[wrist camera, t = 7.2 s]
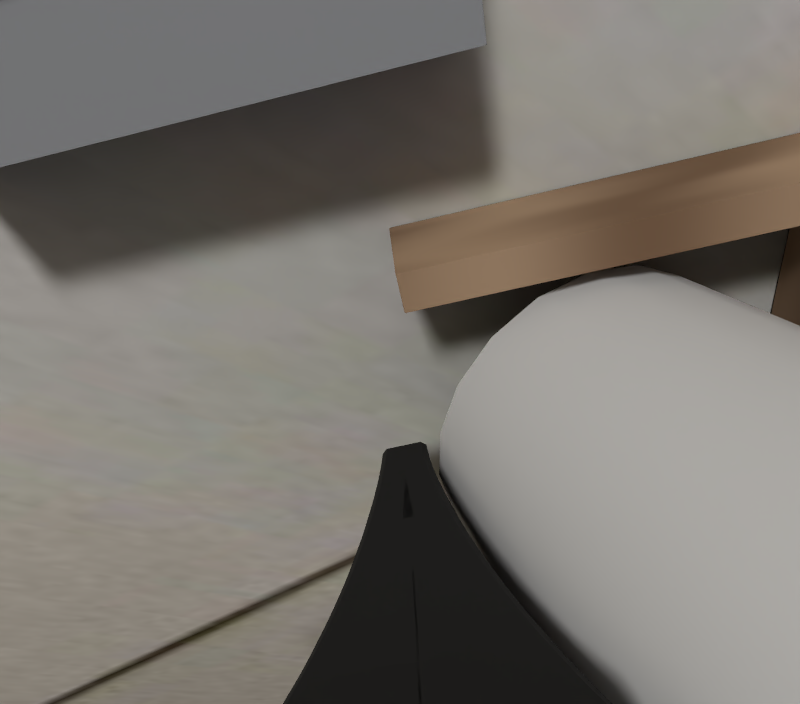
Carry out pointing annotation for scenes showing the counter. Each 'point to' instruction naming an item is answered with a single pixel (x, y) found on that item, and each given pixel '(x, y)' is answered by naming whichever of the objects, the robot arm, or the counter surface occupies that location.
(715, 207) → the lockout bracket
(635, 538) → the can
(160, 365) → the counter surface
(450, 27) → the panel
